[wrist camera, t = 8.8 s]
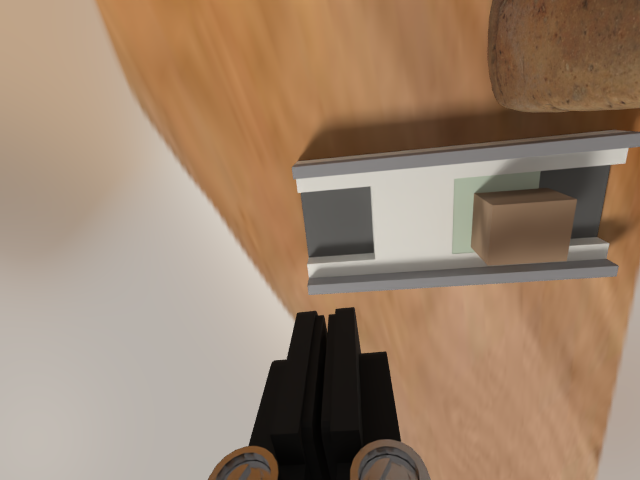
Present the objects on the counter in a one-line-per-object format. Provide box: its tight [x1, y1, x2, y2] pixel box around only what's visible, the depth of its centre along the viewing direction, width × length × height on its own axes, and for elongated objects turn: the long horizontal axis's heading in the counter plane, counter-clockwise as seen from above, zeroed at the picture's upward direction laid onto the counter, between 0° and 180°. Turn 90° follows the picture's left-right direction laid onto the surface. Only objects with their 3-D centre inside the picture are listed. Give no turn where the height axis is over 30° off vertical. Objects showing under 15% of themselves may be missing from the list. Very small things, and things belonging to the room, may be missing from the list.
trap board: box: [292, 130, 640, 295], centre depth 31 cm, size 12×27×4 cm, turn 96°
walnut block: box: [471, 188, 577, 266], centre depth 29 cm, size 5×6×4 cm
